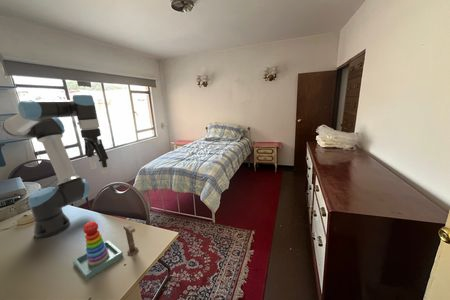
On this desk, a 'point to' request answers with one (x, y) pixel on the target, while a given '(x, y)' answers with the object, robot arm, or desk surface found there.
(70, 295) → the desk surface
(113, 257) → the tray
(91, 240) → the stacking toy
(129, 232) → the tan tall figure
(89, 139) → the robot arm
